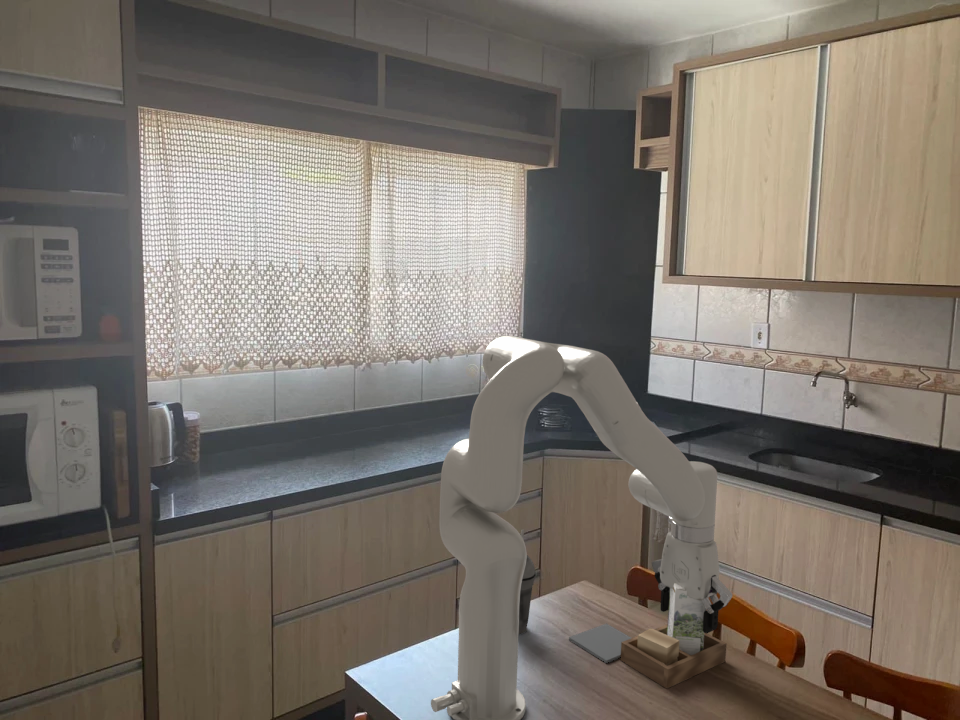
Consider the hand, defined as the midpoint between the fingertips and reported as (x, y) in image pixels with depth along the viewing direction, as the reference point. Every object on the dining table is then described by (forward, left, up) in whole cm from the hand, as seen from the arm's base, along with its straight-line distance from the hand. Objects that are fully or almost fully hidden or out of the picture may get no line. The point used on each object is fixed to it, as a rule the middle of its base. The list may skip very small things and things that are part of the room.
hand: (687, 619), depth 136 cm
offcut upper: (-8, 0, -4) cm, 9 cm away
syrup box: (0, 0, -7) cm, 7 cm away
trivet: (-9, +11, -7) cm, 16 cm away
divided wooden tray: (-3, 0, -7) cm, 8 cm away
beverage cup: (-20, +25, -7) cm, 33 cm away
